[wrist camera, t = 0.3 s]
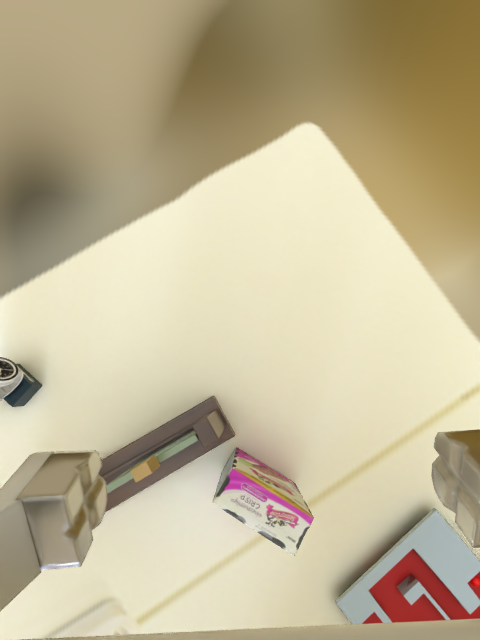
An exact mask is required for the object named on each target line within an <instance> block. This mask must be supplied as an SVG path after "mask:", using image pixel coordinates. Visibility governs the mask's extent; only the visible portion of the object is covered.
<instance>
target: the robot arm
mask: <svg viewBox="0 0 480 640" xmlns="http://www.w3.org/2000/svg"><path fill="white" fill-rule="evenodd" d="M434 448H435V450H436V451H437V452H438V454H439V457H438V458H437V459H436V460H435V461H434V462H433V463H432V480H433V485H434V489H435V491H436V493H437V496H438V498H439V499H440V501H441V502H442V504H443V505H444V506H445V507H447V508H448V509H450V510H452V511H453V512H455V513H456V518H455V522H456V524H457V525H458V527H459V528H460V530H461V531H462V532H463V534H464V535H465V537H466V538H467V540H468V541H469V542H470V544H471V545H472V547H473V548H480V430H466V431H451V432H438V433H437V435H436V437H435V443H434ZM101 467H102V461H101V457H100V453H98V452H97V451H96V450H91V451H60V452H39V453H34V454H31V455H30V456H29V457H28V458H27V459H26V460H25V461H24V463H23V464H22V465H21V466H20V467H19V468H18V470H17V471H16V472H15V473H14V474H13V475H12V476H11V478H10V479H9V480H8V481H7V482H6V483H5V484H4V486H3V487H2V488H1V489H0V611H1V610H2V609H3V608H4V607H5V606H6V605H7V604H9V603H10V602H11V601H12V600H13V599H14V598H15V597H16V596H17V595H18V594H19V593H20V592H21V591H22V590H23V589H24V588H25V587H26V586H27V585H28V584H29V583H30V582H31V581H33V580H34V579H35V578H36V577H37V576H38V575H39V574H40V573H41V570H46V569H58V568H71V567H81V565H82V563H83V561H84V559H85V557H86V554H87V552H88V550H89V548H90V546H91V543H92V541H93V537H92V532H91V531H92V530H93V529H94V528H95V527H97V526H98V525H99V524H100V523H101V521H102V519H103V516H104V514H105V510H106V504H107V486H106V481H105V480H104V479H103V478H102V477H101V476H100V475H99V474H98V473H99V471H100V469H101ZM22 640H480V619H461V620H439V621H417V622H395V623H373V624H350V625H328V626H306V627H284V628H261V629H239V630H217V631H196V632H174V633H153V634H132V635H110V636H89V637H68V638H45V639H22Z"/></svg>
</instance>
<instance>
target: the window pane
mask: <svg viewBox="0 0 480 640" xmlns="http://www.w3.org/2000/svg"><path fill="white" fill-rule="evenodd" d="M198 440H199V438H198V436H197V434H196V432H195V430H194V431H192V432H190V433H188V434H187V435H185V436H183V437H182V438H180V439H178V440H176V441H175V442H173V443H171V444H170V445H168V446H166V447H164V448H163V449H161V450H159V451H157V452H156V453H154V454H152V455H151V456H149V457H147V458H145V459H144V460H142V461H140V462H139V463H137V464H135V465H134V466H133V467H131V468H130V469H128V470H127V471H126V472H124V473H123V474H121V475H120V476H119V477H117V478H116V479H115V480H113V481H112V482H110V483H109V484H107V485H106V486H107V493H109V492H111V491H112V490H114V489H116V488H117V487H119V486H121V485H122V484H124V483H126V482H128V481H129V480H131V479H133V478H134V480H135V482H138V481H140V480H141V479H143V478H145V477H146V476H148V475H150V474H152V473H153V472H154V471H155V470H156V469H157V468H158V467H159V466H160V462H162V461H164V460H165V459H167V458H169V457H170V456H172V455H174V454H176V453H177V452H179V451H181V450H182V449H184V448H186V447H188V446H189V445H191V444H193V443H194V442H196V441H198Z"/></svg>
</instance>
